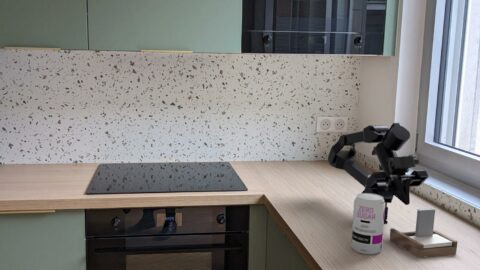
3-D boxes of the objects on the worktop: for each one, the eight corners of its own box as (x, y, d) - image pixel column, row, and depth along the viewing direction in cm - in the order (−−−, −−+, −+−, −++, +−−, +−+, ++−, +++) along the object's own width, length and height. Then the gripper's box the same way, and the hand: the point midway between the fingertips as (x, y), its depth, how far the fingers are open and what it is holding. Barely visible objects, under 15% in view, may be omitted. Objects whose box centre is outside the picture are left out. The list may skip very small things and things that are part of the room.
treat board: (389, 240, 153) (390, 228, 153) (424, 236, 157) (425, 225, 157) (419, 257, 141) (420, 245, 140) (456, 253, 145) (457, 241, 144)
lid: (408, 240, 147) (410, 209, 146) (435, 237, 150) (438, 207, 149) (423, 248, 141) (426, 216, 140) (451, 245, 144) (455, 214, 143)
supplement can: (376, 244, 149) (380, 192, 147) (385, 255, 141) (389, 201, 139) (347, 243, 149) (351, 192, 147) (355, 255, 141) (359, 200, 139)
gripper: (374, 145, 154) (393, 192, 145) (427, 143, 160) (449, 188, 152) (357, 166, 163) (375, 211, 154) (409, 163, 169) (428, 207, 160)
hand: (407, 204), depth 155 cm, fingers closed
